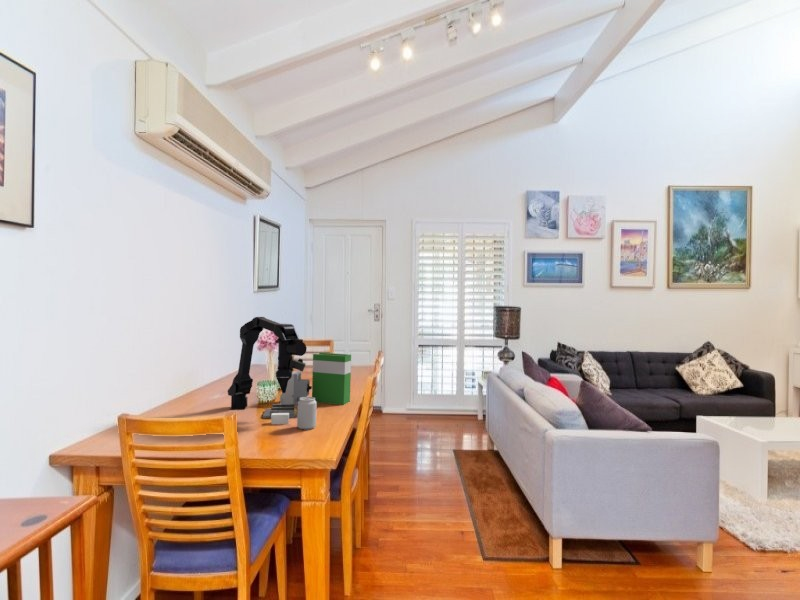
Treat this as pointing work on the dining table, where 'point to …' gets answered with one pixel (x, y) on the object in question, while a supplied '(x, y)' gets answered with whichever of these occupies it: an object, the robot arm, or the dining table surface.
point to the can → (306, 413)
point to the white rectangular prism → (280, 418)
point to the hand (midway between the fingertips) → (284, 390)
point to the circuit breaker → (295, 389)
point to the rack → (281, 410)
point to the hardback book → (331, 378)
